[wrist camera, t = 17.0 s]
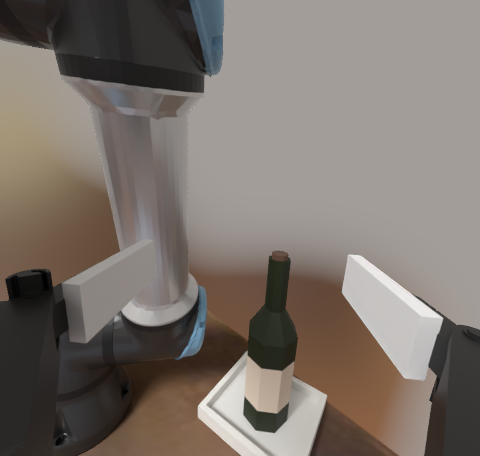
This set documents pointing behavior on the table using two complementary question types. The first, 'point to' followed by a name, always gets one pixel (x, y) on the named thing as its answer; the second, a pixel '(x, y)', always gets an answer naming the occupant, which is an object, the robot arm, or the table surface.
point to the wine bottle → (271, 353)
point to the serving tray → (241, 431)
